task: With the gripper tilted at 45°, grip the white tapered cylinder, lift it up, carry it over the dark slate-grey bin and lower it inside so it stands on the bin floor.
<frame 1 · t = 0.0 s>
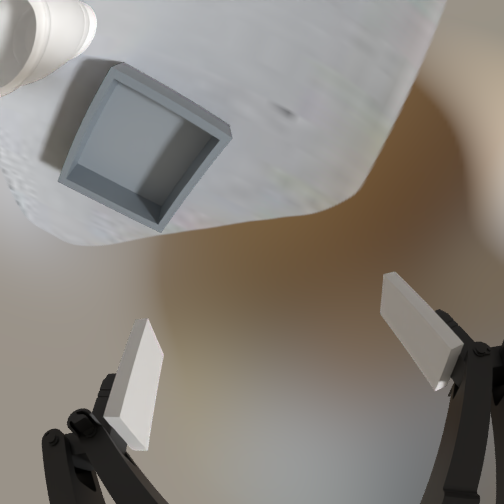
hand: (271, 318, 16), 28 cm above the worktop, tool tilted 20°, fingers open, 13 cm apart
bin: (143, 142, 35), on the worktop
white tapered cylinder: (67, 30, 22), on the worktop
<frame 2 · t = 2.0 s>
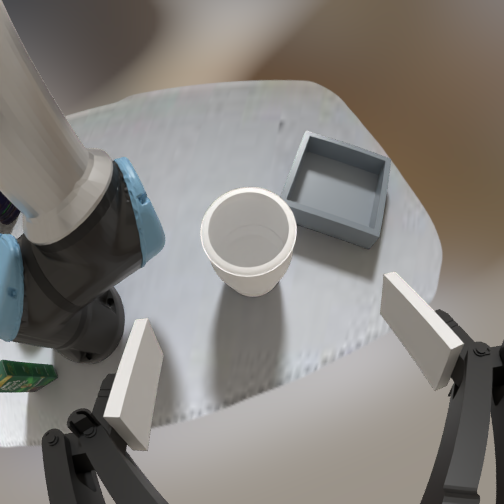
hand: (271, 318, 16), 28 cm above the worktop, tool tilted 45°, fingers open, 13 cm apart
storage jar: (12, 206, 53), on the worktop
bin: (334, 194, 50), on the worktop
white tapered cylinder: (253, 270, 46), on the worktop
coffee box: (43, 379, 40), on the worktop
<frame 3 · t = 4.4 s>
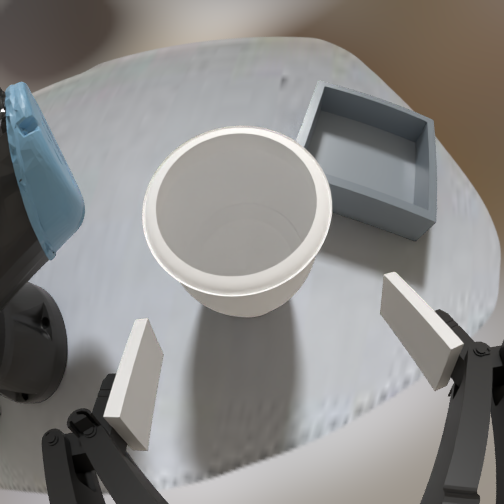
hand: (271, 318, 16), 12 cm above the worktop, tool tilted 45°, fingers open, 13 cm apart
bin: (362, 164, 34), on the worktop
white tapered cylinder: (248, 275, 30), on the worktop
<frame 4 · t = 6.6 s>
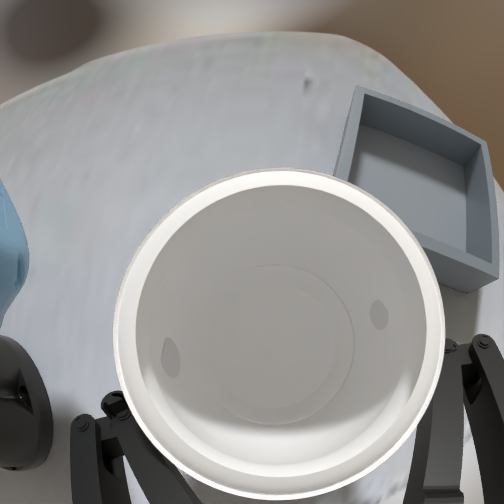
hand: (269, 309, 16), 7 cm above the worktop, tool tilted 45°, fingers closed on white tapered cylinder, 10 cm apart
bin: (408, 195, 26), on the worktop
white tapered cylinder: (272, 348, 22), on the worktop, touching gripper
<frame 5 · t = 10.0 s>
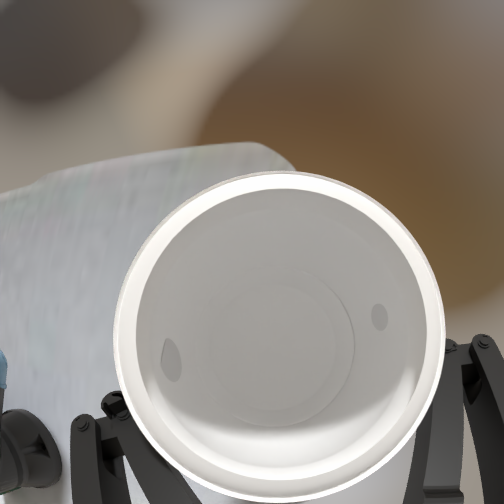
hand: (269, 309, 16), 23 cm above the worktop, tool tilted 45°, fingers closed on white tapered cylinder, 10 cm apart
white tapered cylinder: (272, 349, 22), point 17 cm above the worktop, touching gripper
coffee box: (11, 484, 27), on the worktop
when the fingers open (9 cm above the worktop, at t = 13.4 s): white tapered cylinder drops 2 cm, resting on bin.
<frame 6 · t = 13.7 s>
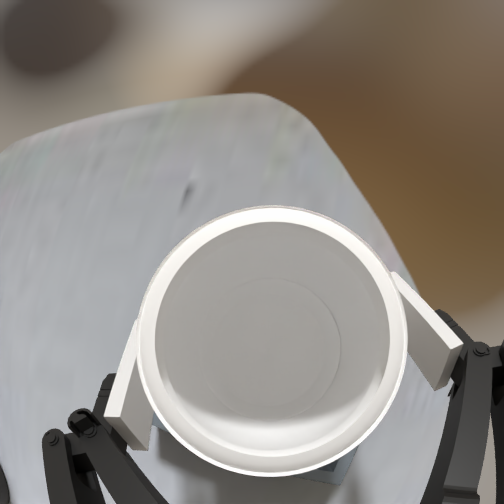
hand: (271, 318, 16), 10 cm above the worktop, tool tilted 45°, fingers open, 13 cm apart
bin: (273, 360, 24), on the worktop
white tapered cylinder: (268, 352, 24), resting on bin
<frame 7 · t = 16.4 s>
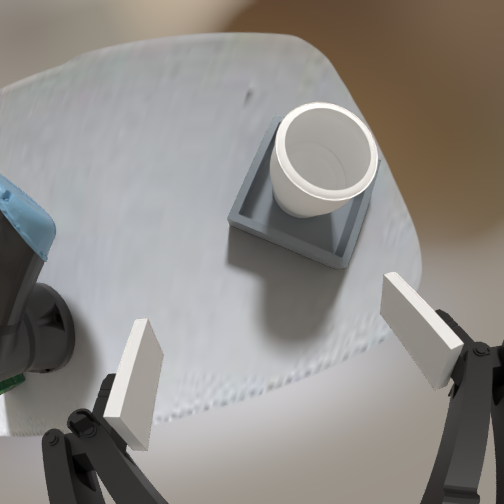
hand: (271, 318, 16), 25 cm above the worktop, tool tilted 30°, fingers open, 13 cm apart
bin: (303, 195, 42), on the worktop
white tapered cylinder: (301, 189, 41), resting on bin
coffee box: (14, 379, 38), on the worktop
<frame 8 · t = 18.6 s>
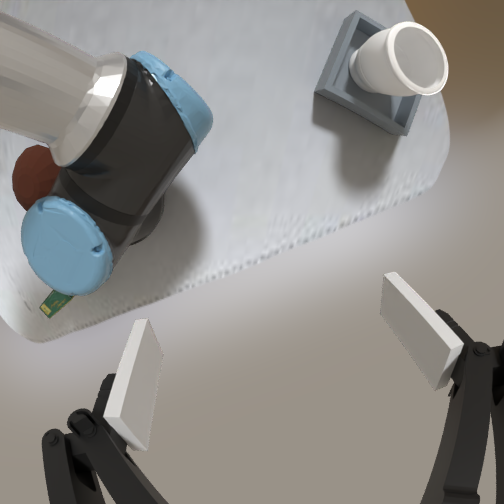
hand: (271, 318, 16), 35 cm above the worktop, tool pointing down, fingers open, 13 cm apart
bin: (370, 75, 41), on the worktop
muffin: (56, 173, 43), on the worktop
white tapered cylinder: (369, 70, 40), resting on bin
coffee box: (84, 266, 50), on the worktop
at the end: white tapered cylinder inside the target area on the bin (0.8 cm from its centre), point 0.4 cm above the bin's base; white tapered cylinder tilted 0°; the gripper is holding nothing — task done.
